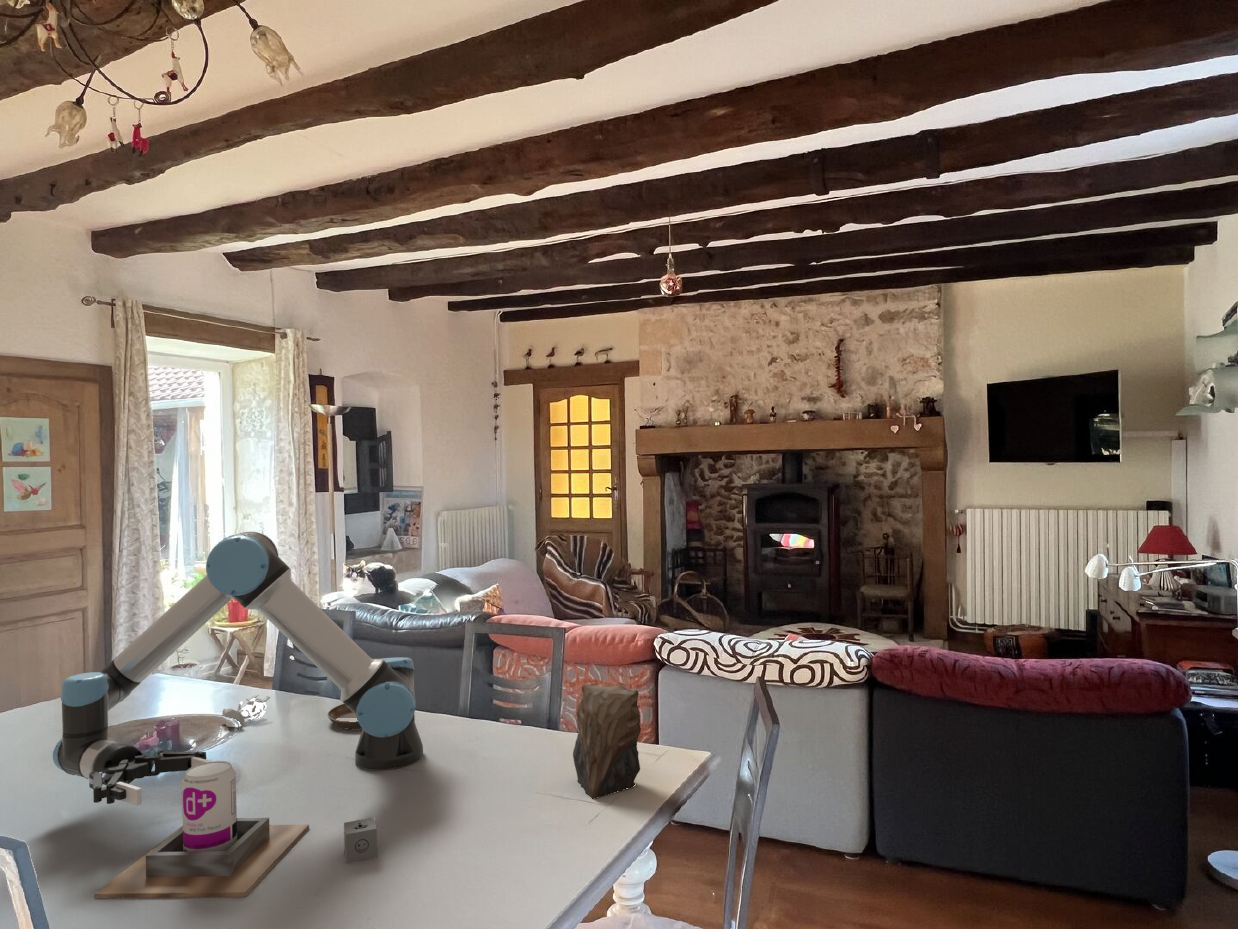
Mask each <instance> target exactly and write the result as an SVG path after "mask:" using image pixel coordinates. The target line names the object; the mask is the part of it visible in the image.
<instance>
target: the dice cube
mask: <svg viewBox="0 0 1238 929" xmlns="http://www.w3.org/2000/svg"><path fill="white" fill-rule="evenodd" d="M343 844H344V845H343V846H344V847H343V848H344V851H343V852H344V857H345V862H346V865H347V864H352V863H357V862H362V861H367V860H372V859H378V828H377V824H376V821H375V817H368V818H362V819H358V820H352V821H347V822H343Z"/></svg>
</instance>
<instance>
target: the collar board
mask: <svg viewBox="0 0 1238 929" xmlns="http://www.w3.org/2000/svg"><path fill="white" fill-rule="evenodd" d="M309 829H310V824H270V817H237V842H236V843H235V844H234V845H232V846H231V847H230V848H229V849H228V850H227V851H204V852H183V825H181V826H180V827H179V828H177V829H176V830H175V831H174V832H172V833H171V834H170V835H168V836H167V837H166V838H165V839H163V840H162V841H161V842H159V843H158V844H156V845H155V847H152V848H151V849H150V850H149V851H147V853H145V854H144V855H142V856H141V857H140V858H139V859H138V860H136V861H135V862H134V863H132V864H131V865H130V866H128V867H127V868H126V869H125V870H123V871H122V872H120V873H119V874H117V875H116V876H115V877H114V878H113V879H112V880H110V881H109V882H108V883H106V884H105V885H104V886H102V887H101V888H100V889H99V890H98V891H96V892H95V893H94V898H95V897H116V898H115V899H118V898H117V897H120V898H119V899H123V898H122V897H125V898H124V899H127V897H128V899H133V898H134V899H140V898H141V899H143V898H144V899H145V898H146V899H148V898H150V899H151V898H152V899H153V898H154V899H155V898H156V899H158V898H165V899H166V898H168V899H169V898H246V897H247V896H248V895H249V894H250V893H251V892H252V891H253V889H254V888H255V887H257V885H258V884H259V883H260V882H261V881H262V880H263V879H264V878H265V877H266V875H267V874H268V873H269V872H270V871H271V870H272V869H273V868H274V867H275V866H276V865H277V864H278V863H279V861H280V860H281V859H282V858H283V857H285V855H286V854H287V853H288V852H289V851H290V850H291V849H292V848H293V846H294V845H296V843H297V842H298V841H299V840H300V839H301V838H302V837H303V836H304V835H305V834H306V833H307V831H308V830H309ZM129 897H130V898H129Z"/></svg>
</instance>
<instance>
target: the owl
mask: <svg viewBox="0 0 1238 929" xmlns="http://www.w3.org/2000/svg"><path fill="white" fill-rule="evenodd" d="M581 691H582V696H581V698H580V701H579V702H580V703H579V704H578V705H577V710H576V717H577V718H576V723H577V728H578V733H577V736H576V740H575V743H574V748H573V752H572V757H573V763H574V767H575V772H576V775H577V777H576V778H577V780H576V782H577V783H578V784H579V785H580V787H581V788H582V789H583V790H584V792H585V795H587V796H588V795H589V796H590V797H591V798H592V799H591V798H590V797H589V796H588V797H589V798H590V799H591V800H595V799H594V798H596V799H598V798H597V797H599V798H602V797H606V796H609V795H608V794H610V795H612V794H614V792H616V793H618V792H617V791H620V792H622V791H624V790H623V789H625V790H627V789H626V788H631V787H633V786H634V785H635V783H636V782H635V781H636V778H637V776H638V774H639V773H640V771H641V765H640V759H639V751H638V740H639V738H640V735H641V733H642V732H641V729H642V727H641V713H640V710H639V706H638V699H639V698H638V697H639V690H636V689H635V690H631V689H630V688H627V687H626V686H624V685H613V686H609V685H606V686H601V685H600V686H598V685H595V684H586V683H585V684H582V685H581ZM633 788H634V787H633ZM631 789H632V788H631ZM611 793H612V794H611ZM605 795H606V796H605Z"/></svg>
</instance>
